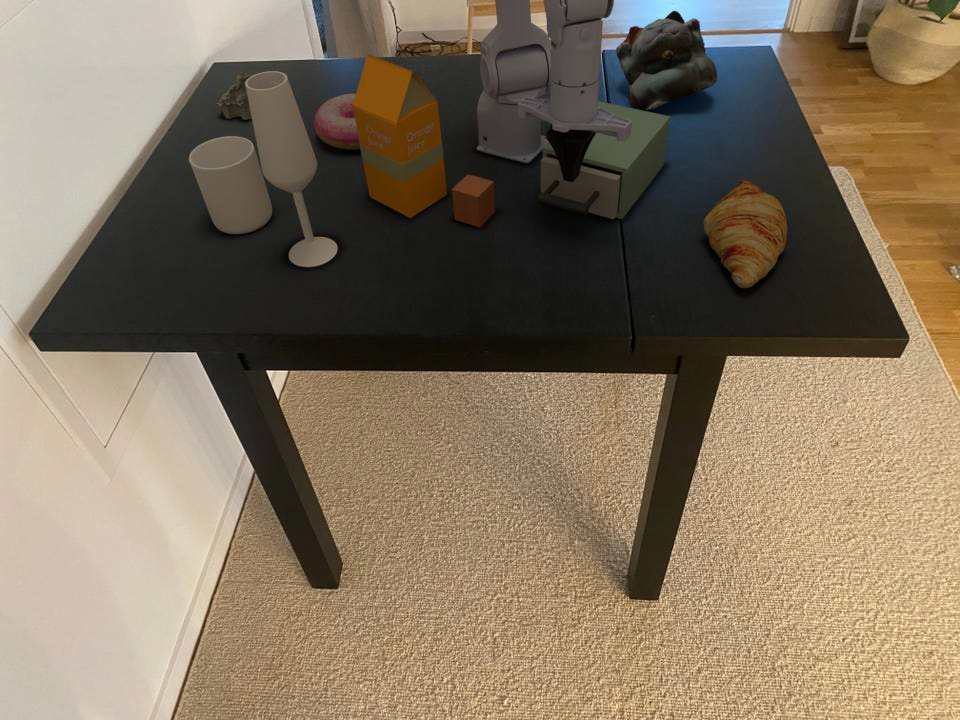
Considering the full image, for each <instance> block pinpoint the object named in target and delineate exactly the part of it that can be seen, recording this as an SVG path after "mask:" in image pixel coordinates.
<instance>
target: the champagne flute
mask: <svg viewBox="0 0 960 720" xmlns="http://www.w3.org/2000/svg"><path fill="white" fill-rule="evenodd" d="M245 86H246V91H247V96H248V101H249V106H250V111H251V116H252V118H251V122H252V126H253V132H254V136H255V141H256V146H257V151H258V156H259V161H260V162H259V163H260V168H261V172H262V175H263V177H264V179H265V180H267V181H268V182H269V183H270V184H271V185H273V186H274V187H275V188H277V189H280V190H283V191H285V192H287V193H291V194H292V198H293V201H294V204H295V207H296V211H297V215H298V218H299V219H298V220H299V222H300V226H301V230H302V233H303V236H304V239H302V240H300V241H297V242H296V243H295V244H294V245H293V246H292V247H291V248H290V250H289V251H288V259H289V261H290V262H291V263H292V264H293V265H295V266H298V267H301V268H302V267H303V268H312V267H313V268H314V267H319V266H322V265H324V264H326V263H328V262H330V261H331V260H332V259H333V258H334V257H335V256H336V255H337V253H338V249H339V248H338V245H337V243H336V242H335V241H334V240H333V239H331V238H329V237H325V236H314V233H313V229H312V226H311V221H310V218H309V214H308V211H307V207H306V202H305V199H304V195H303V192H302V191H303V190H304V189H305V188H306V187H307V186H308V185H309V184H310V183H311V182H312V180H313V179H314V177H315V175H316V174H317V173H316V172H317V168H318V160H317V157H316V155H315V151H314V149H313V146H312V143H311V140H310V137H309V135H308V131H307V128H306V126H305V123H304V120H303V117H302V114H301V112H300V109H299V106H298V103H297V101H296V98H295V95H294V92H293V89H292V86H291V83H290V81H289V78H288V75H287V74H286V73H284V72H281V71H275V70H270V71H262V72H259V73H256V74H254V75H252V76H251V77H250V78H249V79H247V81H246V82H245Z"/></svg>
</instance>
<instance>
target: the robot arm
mask: <svg viewBox="0 0 960 720" xmlns="http://www.w3.org/2000/svg"><path fill="white" fill-rule="evenodd" d="M542 1H543V9H544V13H545V17H546V19H545V20H546V31H547V32H546V31H545V30H543V29H542V28H541V27H540V26H538V25H536V24H534V23H533V22H532V14H531V1H530V0H494V5H495V15H496V24H495V26H494V27H493V28H492V29H491V30H490V32H488V34H487V35H486V36H485V37H484V38H482V40H481V42H480V45H479V46H480V47H479V50H480V51H479V53H480V61H479V71H480V80H481V85H482V87H483V91H482V92H481V93H480V96H479V99H478V102H477V108H476V115H477V116H476V118H477V119H476V120H477V133H478V135H477V136H478V145H477V147H476V151H478V152H480V153H484V154H488V155H492V156H496V157H500V158H505V159H507V160H511V161H515V162H519V163H522V164H528V165H529V164H530V163H532V161H533V160H534V159H535V158H537V157H538V155H539V154H540V153H542V152H543V147H544V146H545V145H546V144H547V143H548V142H549V143H550V144H551V146H552V148H553V150H554V152H555V154H556V156H557V159H558V161H559V164H560V168H561V172H562V176H563V180H565V181H568V182H574V180H575V179H576V178H577V177H578V176H579V173H580V168H581V165H582V162H583V159H584V156H585V154H586V151H587V149H588V147H589V145H590V143H591V141H592V140H593V138H594V136H595V134H596V133H600V134H604V135H608V136H613V137H617V140H618V141H621V142H625V141H626V140H627V139H628V138H629V136H630V135H631V128H632V120H629V119H625V118H622V117H620V116H617V115H615V114H613V113H611V112H609V111H607V110H604V109H602V108H600V107H598V101H599V90H600V88H599V87H600V75H601V74H600V72H601V57H602V42H603V41H602V39H603V26H604V25H603V23H604V21H603V19H608V18H609V17H610V15H611V14H612V12H613V9H614V3H615V0H542ZM547 88H550V91H549V92H550V93H549V97H550V98H542V96H545V95H546V91H547V90H546V89H547ZM542 121H544V122H547V123H549V124H550V126H549V129H548V130H547V131H546V133H545V135H542Z"/></svg>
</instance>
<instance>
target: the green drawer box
mask: <svg viewBox="0 0 960 720" xmlns="http://www.w3.org/2000/svg"><path fill="white" fill-rule="evenodd" d="M598 107H600V108H602V109H604V110H607V111H609V112H611V113H613V114H615V115H617V116H620V117H622V118H625V119H629V120H632V128H631V135H630V136H629V138H628V139H627V140H626V141H625V142H621V141H618V140H617V137H613V136H608V135H604V134H600V133H596V134H595V136H594V138H593V140H592V141H591V143H590V145H589V147H588V149H587V151H586V154H585V156H584V159H583V163H587V164H591V165H595V166H599V167H603V168H607V169H611V170H615V171H619V172H622V179H621V189H620V200H619V205H618V210H617V216H616V217H615V218H616V219H619V220H623V219H624V218H625V217H626V216H627V214H628V213H629V211H630V210H631V209H632V208H633V206H634V205H635V203H637V201H638V199H639V198H640V197H641V196H642V194H643V193H644V192H645V191H646V189H647V188H648V187H649V185H650V184H651V183H652V181H653V180H654V178H655V177H656V176H657V175H658V173H660V171H661V169H662V168H663V167H664V165H665V159H666V158H665V157H666V151H667V143H668V136H669V128H670V122H671V116H669V115H665V114H661V113H655V112H651V111H648V110H647V111H642V110H640V109H638V108H632V107H628V106H622V105H619V104H614V103H608V102H603V101H600V100H598ZM553 155H556V154H555V152H554V150H553V148H552V146H551V144H550V143H549V142H548V143H547V144H546V145H545V146H544V147H543V150H542V159H543V158H544V157H549V158H553Z"/></svg>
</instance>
